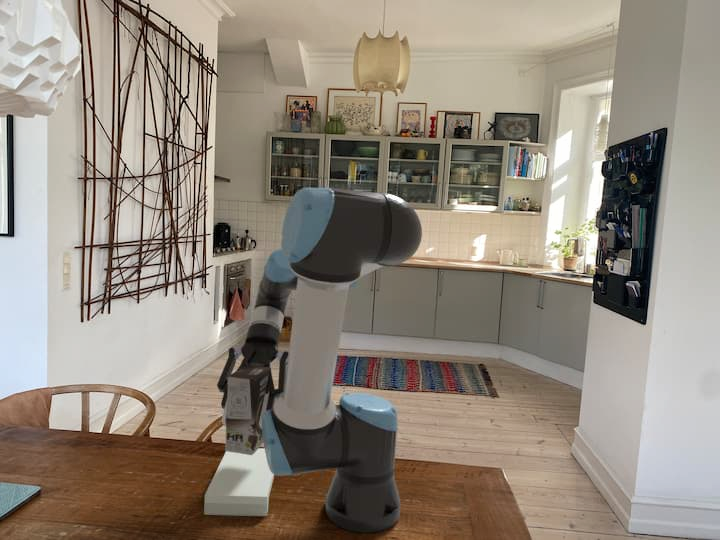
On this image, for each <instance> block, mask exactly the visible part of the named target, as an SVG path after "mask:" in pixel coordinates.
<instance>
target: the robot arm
mask: <svg viewBox="0 0 720 540" xmlns="http://www.w3.org/2000/svg"><path fill="white" fill-rule="evenodd" d="M422 230H423V229H422V223H421V220H420V218H419V215H418V213H417V212H416V211H415V209H414V208H413V207H412V205H410V204H409V203H408V202H407V201H406V200H404V198H403V199H402V198H401V197H399V196H396V195H393V194H390V193H387V192H386V193H385V192H374V191H373V192H372V191H364V190H363V191H361V190H353V189H352V190H351V189H343V188H333V187H328V186H326V187H303V188H300V189H299V190H298V191H297V192H296V193H295V194H294V195H293V196H292V197H291V199H290V201H289V204H288V206H287V209H286V212H285V215H284V219H283V225H282V229H281V237H282V239H281V244H280V245H281V248H278V249H275V250H274V251H272V252H271V253H270V254H269V256H268V257H267V260H266V263H265V265H264V270H263V274H262V277H261V279H260V282H259V285H258V291H257V294H256V295H257V296H256V299H255V304H254V306H253V311H252V314H251V318H250V322H249V327H248V330H247V333H246V338H245V340H244V341H245V342H244V344H243V345H242V347H241V348H234V347H230V348H229V349H228V357H227V359H226V363H225V365H224V367H223V369H222V372H221V373H220V377H219V380H218V382H217V384H216V387H217V389H218V390H219V391H218V392H220V393H223V394H222V397H221V399H222V400H221V404H220V405H221V408H222V409H223V413H222V417H221V423H222V426H223V427H226V419H227V391H228V376H230V375H231V374H233V371H234V368H235V366H236V363H237V360H238V359H239V358H240V356H241V355H242V357H243V359H242V360H241V363H240V364H239V367H238V368H237V369H236V371H237V370H239V369H240V368H242V367H243V366H247V365H248V366H262V367H270V368H271V369H272V367H271V363H272V362H273V361H275V360H276V359H277V358H278V362H279V368H278V370H279V371H278V382H277V383H278V384H277V385H278V386H277V388H275V384H274V378H273V373H272V371H271V372H270V375H269V379H268V383H267V384H268V389H269V394H265V397H264V401H263V406H262V411H261V416H260V420H259V425H260V428H261V429H262V432H263V440H264V443H263V447H264V448H265V453H266V458H267V463H268V466H269V469H270V471H271V472H272V473H273V474H274V476H281V477H283V476H295V475H299V474H306V473H313V472H318V471H326V470H327V471H328V470H333V469H336V471H335V473H334V476H333V478H332V481H331V483H330V486H329V488H328V491H327V494H326V498H325V513H326V515H327V517H328V519H329V520H330V521H331V522H332V523H334V524H335V525H336V526H338V527H340V528H342V529H345V530H347V531H350V532H355V533H362V534H364V533H366V534H368V533H369V534H370V533H376V532H383V531H385V530H387V529H389V528H391V527H393V526H394V525H395V524H396V523H397V521H398V520H399V518H400V515H401V499H400V495H399V491H398V487H397V483H396V480H395V476H394V475H395V465H396V464H395V462H396V461H395V460H396V447H397V435H398V434H397V432H398V429H399V427H398V411H397V409H396V407H395V405H394V404H393V403H391V402H390V401H389V400H387V399H385V398H383V397H381V396H379V395H374V394H370V393H365V392H347V393H344V394H342V395H341V396H340V398H339V401H338V403H339V404H336V403H335V402H334V400H333V399H332V396H331V395H332V390H333V385H334V384H333V383H334V379H335V373H336V366H337V360H338V354H339V353H338V352H339V348H340V343H341V335H342V329H343V324H344V317H345V312H346V305H347V300H348V296H349V295H348V294H349V290H353V289H354V288H355V287H356V285H357V283H358V280H359V279H360V278H362V277H364V276H366V275H367V274H369V273H372V272H374V271H376V270H378V269H380V268H382V267H384V268H391V267H393V268H394V267H396V266H398V265H400V264H402V263H404V262H407V261H408V260H409V259H411V258H412V257H413V256H414V255H415V254H416V253H417V251H418V249H419V247H420V245H421V244H422V243H421V242H422V238H423V237H422V236H423V231H422ZM292 291H295V298H294V308H293V315H292V322H291V323H292V324H291V332H290V339H289V347H288V351H286V350H285V351H283V352H282V351H279V343H280V338H281V332H282V327H283V325H284V324H283V323H284V320H285V319H284V318H285V313H286V308H287V305H288V300H289V298H290V295H291V292H292Z"/></svg>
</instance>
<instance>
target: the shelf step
mask: <svg viewBox="0 0 720 540" xmlns="http://www.w3.org/2000/svg"><path fill="white" fill-rule="evenodd" d="M274 478H275V475H274V474H273V473H272V472H271V471H270V469H269V466H268V463H267V458H266V453H265V448H261V447H259V448H258V449H257V451H256V452H255V453H254V454H253V455H247V454H241V453H234V452H228V451H225V452H224V455H223V457H222V459H221V461H220V463H219V465H218V467H217V469H216V472H215V474H214V475H213V477H212V479H211V481H210V483H209V485H208V488H207V490H206V491H205V494H204V506H203V507H204V510H203V512H204V513H203V515H204V516H205V515H207V516H208V515H209V516H210V515H211V516H213V515H214V516H237V517H238V516H241V517H247V516H248V517H267V516H268V511H269V501H270V499H269V498H270V494H271V490H272V486H273V482H274Z"/></svg>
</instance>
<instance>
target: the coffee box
mask: <svg viewBox="0 0 720 540" xmlns="http://www.w3.org/2000/svg"><path fill="white" fill-rule="evenodd" d="M270 367H271V366H270ZM270 367H262V366H248V365H247V366H243V367H242V368H240V369H239V370H237V369H236V371H234V372H232V374H231V375H230V376H228V383H227V384H228V391H227V419H226V426H225V446H224V451H225V452H226V451H228V452H234V453H241V454H247V455H253V454H254V453H255V452H256V451H257V449H258V448H261V446H262V445H264V440H263V432H262V429H261V428H260V425H259V420H260V416H261V411H262V406H263V401H264V397H265V394H269V389H268V384H267V383H268V379H269V375H270V372H271V373H272V367H271V368H270Z"/></svg>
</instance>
